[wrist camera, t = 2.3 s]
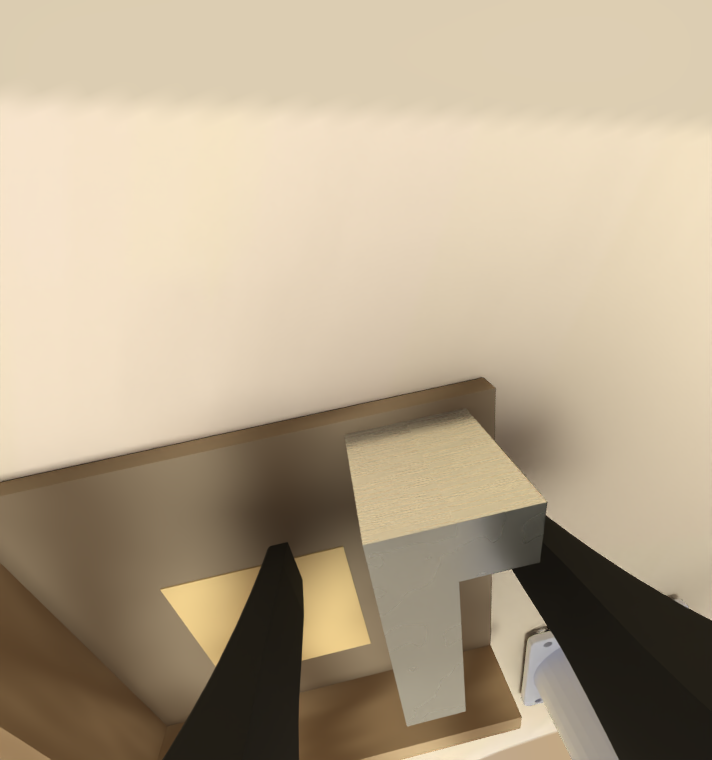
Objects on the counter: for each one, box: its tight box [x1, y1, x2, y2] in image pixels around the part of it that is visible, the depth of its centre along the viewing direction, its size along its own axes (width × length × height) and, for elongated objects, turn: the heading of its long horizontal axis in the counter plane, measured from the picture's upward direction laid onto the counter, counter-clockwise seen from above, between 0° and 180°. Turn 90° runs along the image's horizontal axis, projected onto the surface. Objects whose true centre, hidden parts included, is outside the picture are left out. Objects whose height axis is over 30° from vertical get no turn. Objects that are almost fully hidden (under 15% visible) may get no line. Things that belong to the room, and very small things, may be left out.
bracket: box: [345, 408, 547, 727], centre depth 11 cm, size 9×4×4 cm, turn 10°
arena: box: [0, 378, 496, 726], centre depth 14 cm, size 17×16×1 cm
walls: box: [0, 563, 522, 760], centre depth 13 cm, size 18×17×4 cm
